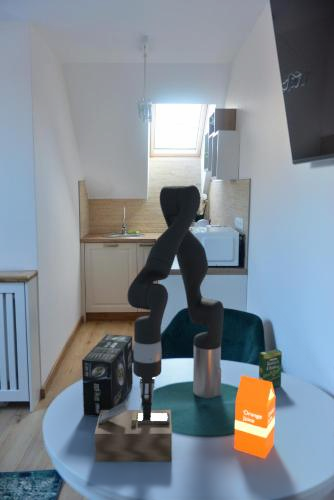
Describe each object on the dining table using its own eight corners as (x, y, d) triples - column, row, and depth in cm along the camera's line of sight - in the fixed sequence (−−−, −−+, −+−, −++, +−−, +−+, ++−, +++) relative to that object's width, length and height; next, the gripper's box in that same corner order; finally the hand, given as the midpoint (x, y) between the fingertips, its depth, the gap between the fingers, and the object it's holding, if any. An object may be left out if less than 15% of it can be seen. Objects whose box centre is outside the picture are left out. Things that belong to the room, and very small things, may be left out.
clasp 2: (169, 416, 123) (169, 413, 123) (169, 424, 119) (169, 420, 119) (138, 416, 123) (138, 412, 123) (137, 424, 119) (137, 420, 119)
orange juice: (243, 435, 128) (246, 369, 125) (273, 444, 124) (276, 376, 121) (233, 449, 122) (235, 380, 119) (265, 459, 117) (267, 388, 114)
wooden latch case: (170, 435, 128) (170, 404, 127) (171, 461, 116) (171, 427, 115) (101, 435, 128) (100, 404, 126) (95, 462, 116) (94, 428, 114)
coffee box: (262, 390, 156) (263, 354, 154) (257, 386, 158) (258, 351, 156) (281, 386, 159) (282, 351, 157) (276, 383, 161) (277, 348, 159)
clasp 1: (99, 425, 119) (97, 422, 119) (101, 417, 123) (99, 414, 122) (127, 410, 118) (125, 407, 118) (128, 403, 122) (126, 400, 122)
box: (113, 419, 137) (112, 361, 134) (82, 415, 139) (81, 358, 136) (133, 385, 159) (133, 335, 156) (107, 383, 161) (106, 333, 158)
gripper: (161, 366, 111) (160, 430, 114) (161, 347, 124) (160, 404, 127) (131, 366, 111) (131, 430, 114) (134, 346, 124) (134, 404, 127)
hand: (147, 416), depth 120 cm, fingers closed
